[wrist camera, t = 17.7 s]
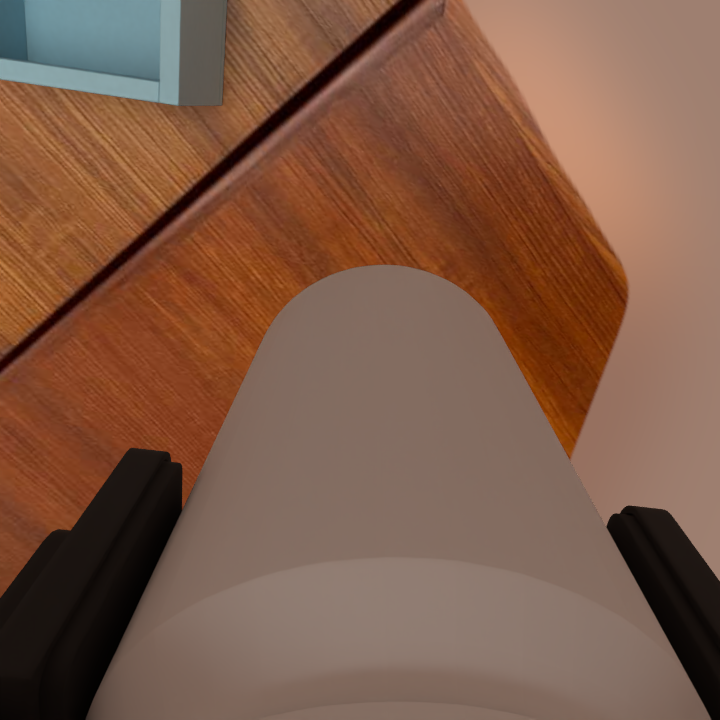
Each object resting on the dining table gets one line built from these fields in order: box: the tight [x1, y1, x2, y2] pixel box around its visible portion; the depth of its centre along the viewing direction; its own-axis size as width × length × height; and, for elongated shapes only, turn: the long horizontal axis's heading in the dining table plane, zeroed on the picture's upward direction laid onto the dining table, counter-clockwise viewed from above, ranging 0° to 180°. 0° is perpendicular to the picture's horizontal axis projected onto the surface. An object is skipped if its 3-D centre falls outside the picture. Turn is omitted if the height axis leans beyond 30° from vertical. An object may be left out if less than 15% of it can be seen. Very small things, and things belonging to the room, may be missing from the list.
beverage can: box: [86, 265, 711, 720], centre depth 10 cm, size 6×6×12 cm
